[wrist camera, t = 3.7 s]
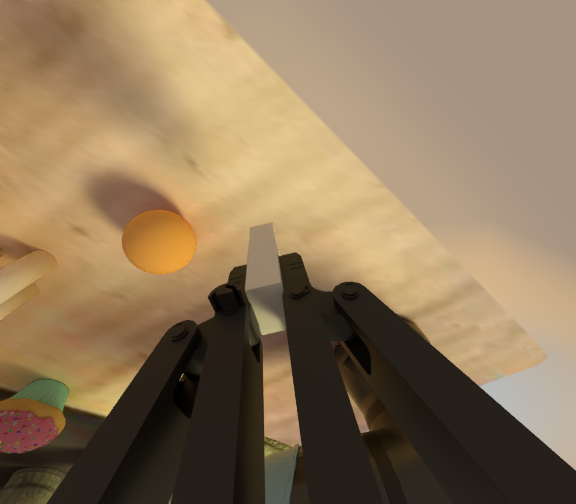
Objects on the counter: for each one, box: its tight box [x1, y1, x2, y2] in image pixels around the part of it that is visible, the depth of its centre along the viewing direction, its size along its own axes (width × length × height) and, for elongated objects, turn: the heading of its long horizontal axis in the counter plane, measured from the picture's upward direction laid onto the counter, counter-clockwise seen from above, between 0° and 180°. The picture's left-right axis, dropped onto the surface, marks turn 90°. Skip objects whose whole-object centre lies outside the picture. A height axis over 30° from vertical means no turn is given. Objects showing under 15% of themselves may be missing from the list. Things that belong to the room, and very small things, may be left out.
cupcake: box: [0, 379, 69, 454], centre depth 28 cm, size 9×8×12 cm
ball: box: [122, 210, 196, 274], centre depth 21 cm, size 6×6×6 cm
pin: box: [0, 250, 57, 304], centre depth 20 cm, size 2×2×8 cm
